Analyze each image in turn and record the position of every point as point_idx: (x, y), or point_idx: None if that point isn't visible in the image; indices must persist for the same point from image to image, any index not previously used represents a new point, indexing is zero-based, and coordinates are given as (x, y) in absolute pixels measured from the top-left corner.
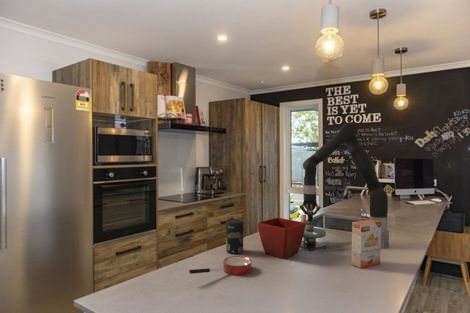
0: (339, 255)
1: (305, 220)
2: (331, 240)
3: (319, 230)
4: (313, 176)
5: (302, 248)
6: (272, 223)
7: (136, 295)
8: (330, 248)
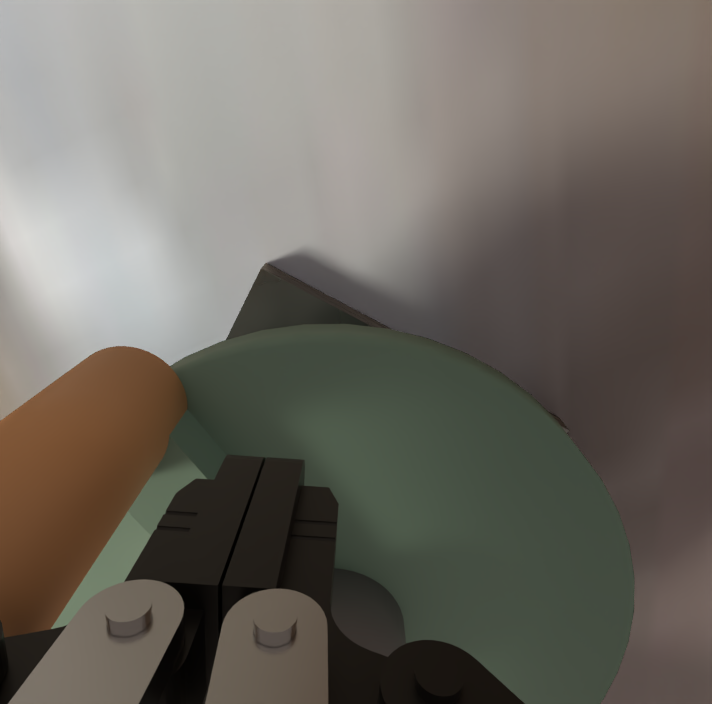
0: (687, 651)
1: (113, 530)
2: (622, 38)
3: (507, 533)
4: None
5: None
6: None
7: None
8: (599, 467)
